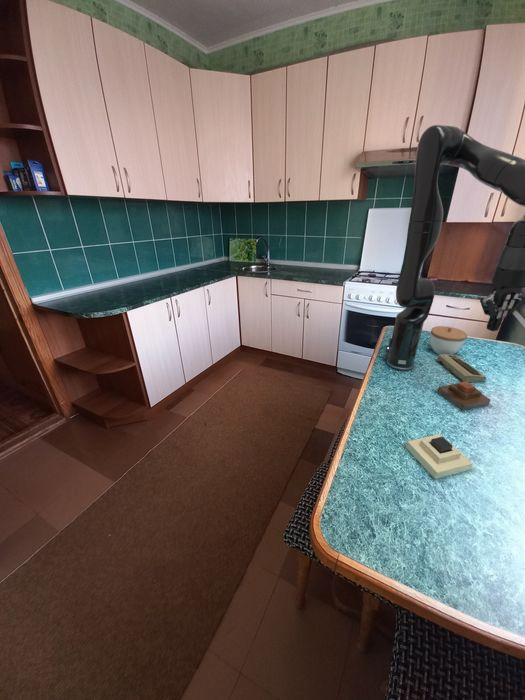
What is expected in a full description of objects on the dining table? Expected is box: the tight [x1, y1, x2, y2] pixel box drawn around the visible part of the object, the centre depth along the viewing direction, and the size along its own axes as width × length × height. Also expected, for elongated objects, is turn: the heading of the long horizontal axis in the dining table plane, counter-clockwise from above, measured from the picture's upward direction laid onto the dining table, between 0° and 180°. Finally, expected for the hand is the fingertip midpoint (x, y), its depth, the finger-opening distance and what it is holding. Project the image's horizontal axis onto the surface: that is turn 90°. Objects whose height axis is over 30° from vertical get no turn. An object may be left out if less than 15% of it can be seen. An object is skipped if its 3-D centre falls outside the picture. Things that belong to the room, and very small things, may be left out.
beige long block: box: [436, 354, 487, 383], centre depth 107 cm, size 16×8×3 cm, turn 3°
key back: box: [457, 381, 476, 393], centre depth 91 cm, size 3×3×2 cm
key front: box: [430, 436, 454, 454], centre depth 70 cm, size 3×3×2 cm
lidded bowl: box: [429, 325, 468, 356], centre depth 119 cm, size 13×13×11 cm
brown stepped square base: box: [436, 382, 492, 412], centre depth 92 cm, size 10×10×4 cm
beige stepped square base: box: [405, 433, 474, 480], centre depth 71 cm, size 10×10×4 cm
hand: (491, 329), depth 80 cm, fingers closed
